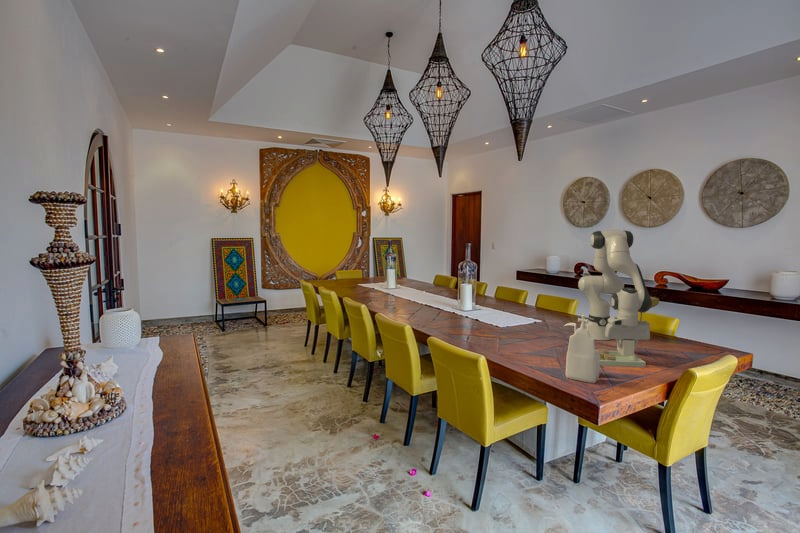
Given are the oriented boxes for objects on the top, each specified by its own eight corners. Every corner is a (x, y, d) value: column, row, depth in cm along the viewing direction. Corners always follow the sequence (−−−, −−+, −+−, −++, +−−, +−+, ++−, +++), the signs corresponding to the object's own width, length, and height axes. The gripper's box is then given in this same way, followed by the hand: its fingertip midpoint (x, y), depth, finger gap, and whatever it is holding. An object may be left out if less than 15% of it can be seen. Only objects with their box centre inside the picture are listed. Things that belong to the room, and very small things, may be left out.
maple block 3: (604, 361, 201) (604, 354, 201) (612, 362, 201) (612, 354, 200) (607, 364, 197) (607, 356, 197) (615, 364, 197) (616, 356, 196)
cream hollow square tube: (619, 352, 203) (619, 337, 203) (629, 353, 203) (630, 337, 202) (623, 356, 198) (624, 340, 198) (633, 356, 198) (634, 340, 197)
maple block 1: (597, 356, 210) (597, 348, 210) (605, 356, 209) (605, 348, 209) (600, 358, 206) (600, 351, 206) (608, 358, 205) (608, 351, 205)
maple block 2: (594, 358, 206) (594, 351, 205) (602, 358, 205) (603, 351, 205) (597, 361, 202) (597, 353, 202) (605, 361, 201) (606, 353, 201)
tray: (586, 356, 213) (586, 350, 212) (629, 358, 210) (630, 351, 210) (597, 367, 196) (598, 360, 196) (645, 369, 193) (645, 362, 193)
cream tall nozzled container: (600, 376, 186) (604, 312, 183) (596, 385, 175) (599, 317, 172) (562, 368, 196) (564, 308, 193) (555, 376, 185) (557, 312, 182)
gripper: (647, 319, 201) (645, 346, 202) (604, 318, 203) (603, 345, 205) (653, 322, 195) (651, 350, 196) (609, 321, 197) (608, 348, 198)
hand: (626, 347), depth 200 cm, fingers closed on cream hollow square tube, 5 cm apart
